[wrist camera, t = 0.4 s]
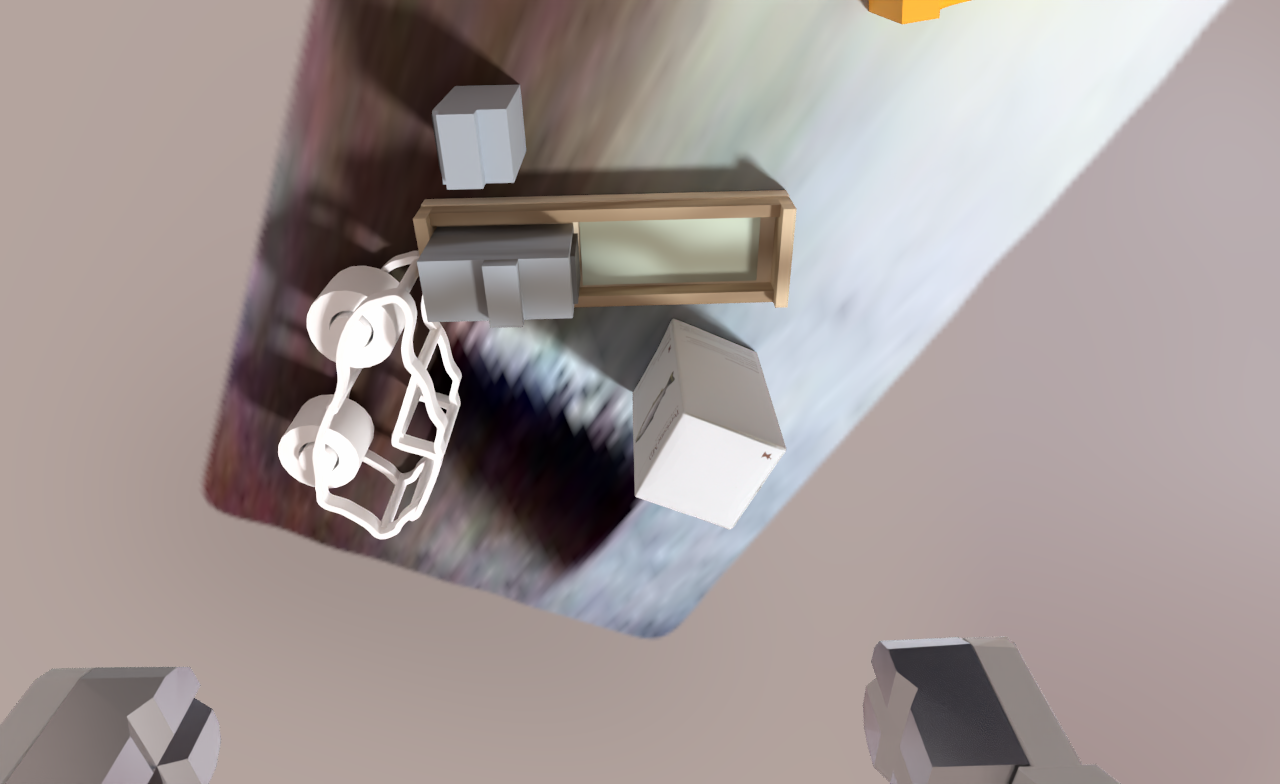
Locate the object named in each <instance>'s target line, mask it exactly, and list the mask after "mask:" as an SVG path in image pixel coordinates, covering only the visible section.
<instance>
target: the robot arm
mask: <svg viewBox="0 0 1280 784" xmlns="http://www.w3.org/2000/svg"><path fill="white" fill-rule="evenodd" d="M871 663H872V666H873V669H874V672H875V675H876V679H874V680H873V681H872V682H871V683H869V684H868V685H867V686H866V691H865V697H864V702H863V713H864V730H865V735H866V740H867V745H868V749H869V752H870V756H871V759H872V763H873V766H874V768H875V769H876V770H877V771H879V772H880V773H881V774H882V775H883V776H884V777H885V778H886V779H887V780H888V781H889V782H890V784H1121V783H1120V782H1118V781H1117V780H1116V779H1114V778H1113V777H1112V776H1110V775H1109V774H1108V773H1107V772H1105V771H1104V770H1103V769H1101V768H1100V767H1099V766H1098V765H1096V764H1087V765H1086V764H1082V763H1081V761H1080V759H1079V757H1078V755H1077V754H1076V752H1075V750H1074V748H1073V746H1072V745H1071V743H1070V741H1069V739H1068V738H1067V736H1066V734H1065V732H1064V730H1063V729H1062V727H1061V725H1060V723H1059V722H1058V720H1057V718H1056V716H1055V714H1054V712H1053V711H1052V709H1051V707H1050V705H1049V704H1048V702H1047V700H1046V698H1045V696H1044V694H1043V693H1042V691H1041V689H1040V687H1039V686H1038V684H1037V682H1036V680H1035V679H1034V677H1033V675H1032V673H1031V671H1030V669H1029V668H1028V666H1027V664H1026V662H1025V660H1024V659H1023V657H1022V655H1021V653H1020V652H1019V650H1018V648H1017V646H1016V644H1015V643H1014V642H1012V641H1011V640H1010V639H1009V638H1008V637H979V638H963V639H961V638H959V637H954V638H933V639H913V640H896V641H895V640H892V641H879V642H878V644H877V645H876V646H875V648H874V652H873V656H872V660H871ZM199 687H200V683H199V681H198V680H197V678H196V676H195V674H194V673H193V671H192V669H191V668H190V667H126V668H125V667H121V668H120V667H115V668H62V669H51V670H49V671H48V672H46V673H45V674H43V675H42V676H40V677H39V678H37V679H36V680H35V681H34V682H33V683H32V684H31V686H30V687H29V688H28V690H27V691H26V692H25V694H24V695H23V696H22V697H21V699H20V700H19V701H18V703H17V704H16V705H15V706H14V708H13V709H12V710H11V712H10V713H9V714H8V716H7V717H6V718H5V720H4V721H3V722H2V724H1V725H0V784H209V782H210V780H211V778H212V775H213V773H214V771H215V768H216V766H217V760H218V755H219V749H220V744H221V736H220V727H219V722H218V720H217V718H216V715H215V713H214V711H213V709H212V708H210V707H208V706H207V705H205V704H204V703H202V702H200V701H199V700H197V699H195V698H194V697H195V695H196V693H197V691H198V689H199Z"/></svg>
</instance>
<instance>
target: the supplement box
mask: <svg viewBox="0 0 1280 784" xmlns="http://www.w3.org/2000/svg"><path fill="white" fill-rule="evenodd" d="M633 441H634V476H635V496H636V497H637V498H640V499H643V500H646V501H649V502H652V503H655V504H658V505H661V506H664V507H667V508H670V509H673V510H676V511H679V512H681V513H684V514H688V515H691V516H694V517H696V518H699V519H702V520H704V521H707V522H710V523H713V524H715V525H718V526H721V527H724V528H726V529H732V528H733V527H734V526H735V524H736V523H737V521H738V520H739V518H740V517H741V515H742V514H743V512H744V511H745V509H746V508H747V507H748V505H749V504H750V502H751V501H752V499H753V498H754V496H755V495H756V494H757V492H758V491H759V490H760V488H761V487H762V485H763V483H764V482H765V480H766V479H767V477H768V476H769V474H770V473H771V471H772V470H773V469H774V467H775V466H776V464H777V463H778V461H779V460H780V458H781V457H782V456H783V454H784V453H785V451H786V446H785V443H784V440H783V437H782V433H781V430H780V427H779V424H778V420H777V417H776V414H775V411H774V407H773V404H772V401H771V397H770V394H769V391H768V388H767V385H766V381H765V378H764V375H763V371H762V368H761V365H760V362H759V358H758V355H757V352H754V351H752V350H750V349H747V348H745V347H743V346H740V345H738V344H735V343H733V342H730V341H728V340H726V339H723V338H721V337H718V336H716V335H714V334H711V333H709V332H706V331H704V330H701V329H699V328H697V327H694V326H692V325H689V324H687V323H684V322H682V321H679V320H676V319H672V320H671V322H670V324H669V326H668V329H667V331H666V333H665V335H664V337H663V339H662V341H661V343H660V345H659V347H658V349H657V351H656V353H655V354H654V356H653V358H652V360H651V362H650V364H649V365H648V367H647V369H646V371H645V373H644V374H643V376H642V378H641V380H640V381H639V383H638V385H637V386H636V388H635V390H634V391H633Z"/></svg>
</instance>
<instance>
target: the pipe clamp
mask: <svg viewBox="0 0 1280 784" xmlns="http://www.w3.org/2000/svg"><path fill="white" fill-rule="evenodd" d="M966 1H970V0H869V12H871V13H874V14H877V15H879V16H882V17H884V18H887V19H890V20H892V21H895V22H897V23H900V24H907V23H913V22H918V21H924V20H930V19H936V18H939V15H940V9H942V8H945V7H948V6H951V5H954V4H958V3H962V2H966Z"/></svg>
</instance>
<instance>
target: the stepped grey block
mask: <svg viewBox="0 0 1280 784" xmlns="http://www.w3.org/2000/svg"><path fill="white" fill-rule="evenodd" d="M431 116H432V123H433V129H434V135H435V142H436V148H437V155H438V161H439V168H440V173H442V180H443V185H446V186H447V190H458V189H483V188H484V186H485V184H486V183H514V182H515V179H516V176H517V174H518V171H519V168H520V166H521V163H522V160H523V158H524V155H525V152H526V142H525V132H524V121H523V111H522V100H521V90H520V85H481V86H455V87H454V88H453V89H452V90H451V91H450V92H449V93H448V94H447V95H446V96H445V97H444V98H443V99H442V101H441V102H440V103H439V104H438V105H437V106H436V107H435V108H434V109H433V110H432V114H431Z"/></svg>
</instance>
